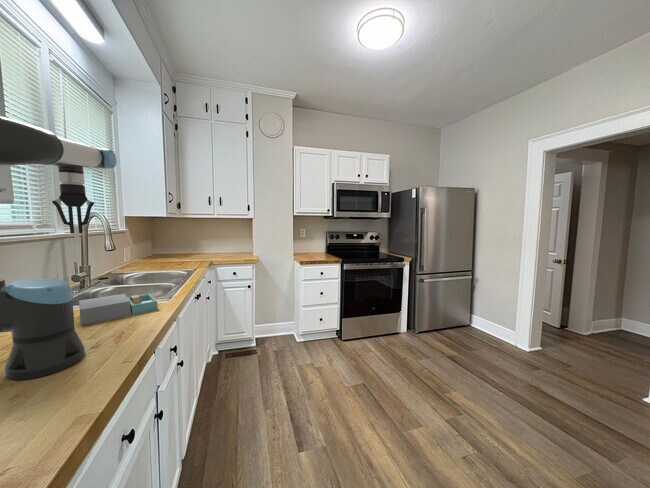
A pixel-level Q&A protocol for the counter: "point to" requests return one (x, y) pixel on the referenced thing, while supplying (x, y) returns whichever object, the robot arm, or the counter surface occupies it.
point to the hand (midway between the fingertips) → (77, 241)
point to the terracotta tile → (135, 299)
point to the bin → (143, 304)
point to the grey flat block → (104, 308)
